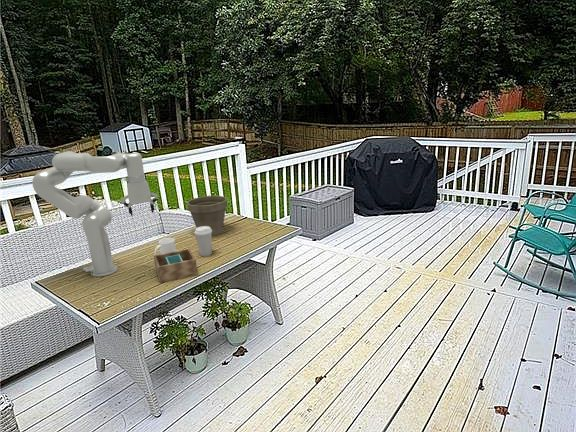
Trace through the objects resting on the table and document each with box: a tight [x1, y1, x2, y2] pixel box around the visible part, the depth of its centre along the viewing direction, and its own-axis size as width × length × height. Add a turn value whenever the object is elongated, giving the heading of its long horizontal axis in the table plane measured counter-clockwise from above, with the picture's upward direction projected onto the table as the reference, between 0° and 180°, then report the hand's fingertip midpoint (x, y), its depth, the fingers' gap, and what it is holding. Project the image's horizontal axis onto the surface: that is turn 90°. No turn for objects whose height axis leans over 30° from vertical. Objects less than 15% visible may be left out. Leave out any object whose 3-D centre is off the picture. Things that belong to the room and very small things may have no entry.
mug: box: [154, 237, 177, 256], centre depth 214 cm, size 12×8×10 cm
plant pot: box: [186, 195, 228, 237], centre depth 250 cm, size 25×25×22 cm
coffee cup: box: [194, 226, 213, 257], centre depth 218 cm, size 10×10×15 cm
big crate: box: [153, 248, 198, 284], centre depth 198 cm, size 18×16×8 cm
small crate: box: [165, 254, 183, 265], centre depth 198 cm, size 7×11×6 cm, turn 25°
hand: (142, 213), depth 194 cm, fingers open, 9 cm apart
